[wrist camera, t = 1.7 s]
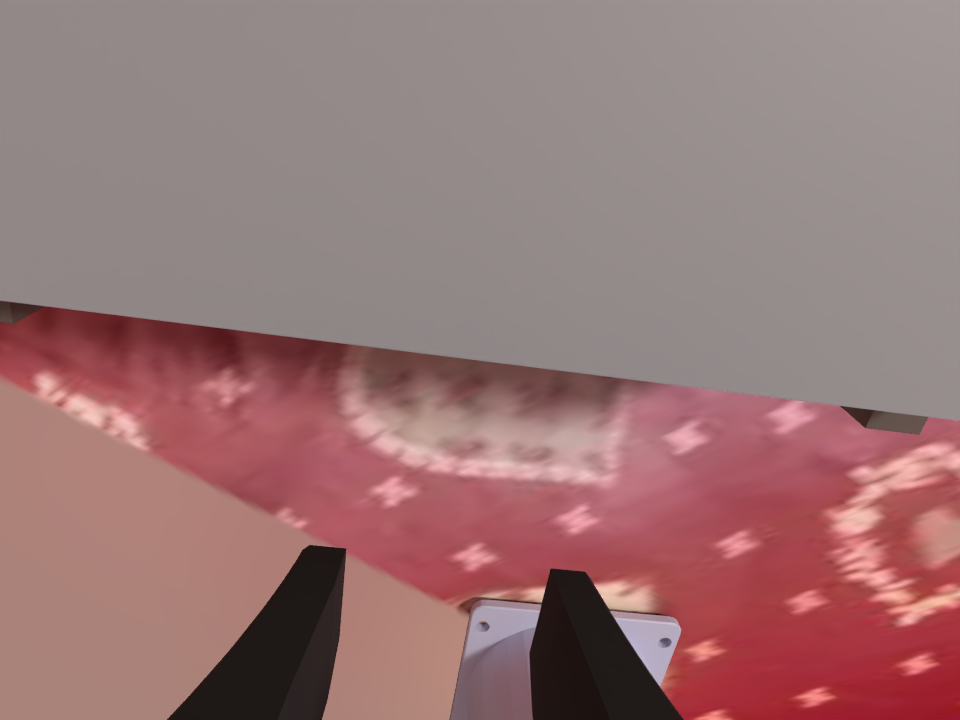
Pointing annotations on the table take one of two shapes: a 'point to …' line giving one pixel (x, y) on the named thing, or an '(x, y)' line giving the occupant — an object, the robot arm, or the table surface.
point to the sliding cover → (506, 182)
